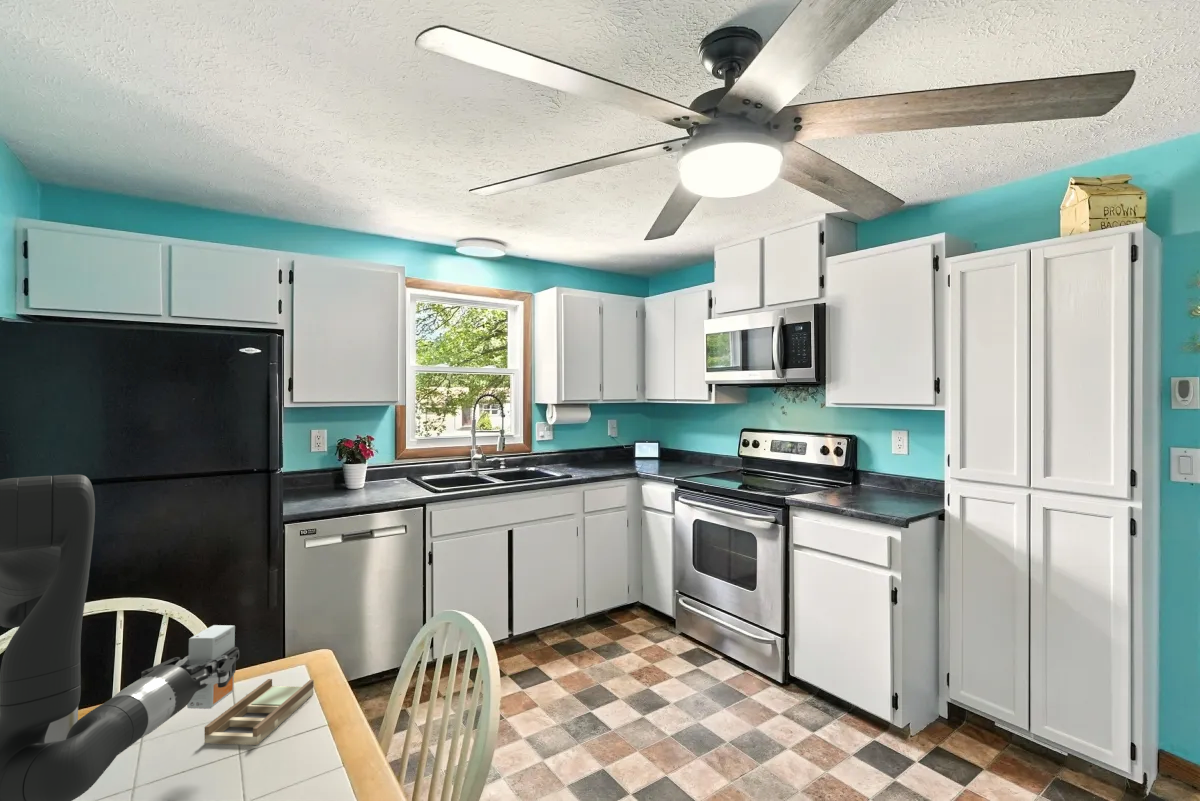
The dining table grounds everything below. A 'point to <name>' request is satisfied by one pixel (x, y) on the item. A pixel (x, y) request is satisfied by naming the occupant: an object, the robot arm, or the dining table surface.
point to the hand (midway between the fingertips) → (222, 652)
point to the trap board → (257, 714)
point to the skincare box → (211, 647)
